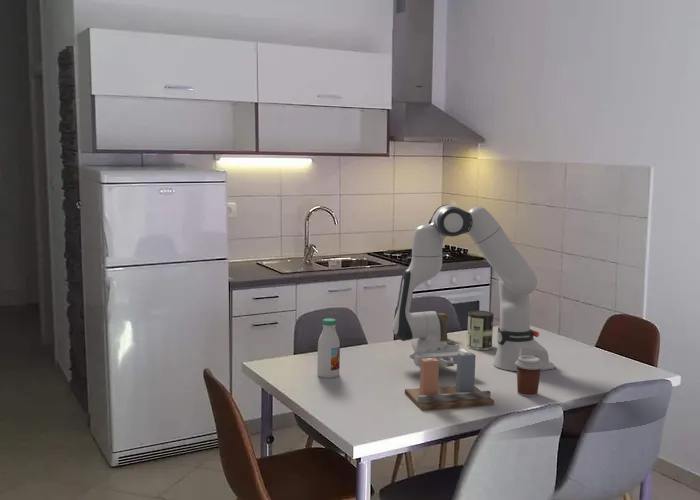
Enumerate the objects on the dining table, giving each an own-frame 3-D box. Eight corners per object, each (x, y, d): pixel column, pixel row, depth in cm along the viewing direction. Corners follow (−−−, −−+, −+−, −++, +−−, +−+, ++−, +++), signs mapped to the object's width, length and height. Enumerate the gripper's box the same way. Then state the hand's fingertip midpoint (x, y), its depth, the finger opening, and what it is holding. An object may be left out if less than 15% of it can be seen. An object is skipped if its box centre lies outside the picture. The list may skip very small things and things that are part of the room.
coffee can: (489, 343, 304) (491, 310, 302) (494, 350, 294) (495, 316, 292) (464, 343, 304) (466, 309, 302) (468, 349, 294) (470, 315, 292)
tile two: (470, 388, 242) (471, 352, 240) (473, 391, 239) (475, 354, 237) (456, 389, 240) (457, 352, 239) (459, 392, 237) (461, 355, 236)
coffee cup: (529, 400, 236) (531, 364, 234) (507, 392, 243) (509, 357, 242) (547, 395, 241) (549, 359, 240) (525, 387, 249) (527, 353, 247)
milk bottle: (323, 379, 252) (324, 322, 250) (313, 373, 259) (314, 318, 256) (343, 376, 256) (344, 320, 253) (333, 370, 263) (334, 316, 260)
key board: (472, 388, 246) (473, 378, 245) (493, 405, 230) (494, 394, 230) (404, 393, 240) (405, 383, 239) (421, 410, 224) (422, 399, 224)
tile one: (434, 394, 235) (435, 357, 233) (437, 397, 232) (439, 360, 230) (419, 395, 233) (420, 358, 232) (422, 398, 230) (424, 360, 229)
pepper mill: (446, 341, 307) (448, 315, 306) (432, 340, 308) (433, 314, 307) (448, 337, 313) (449, 312, 311) (433, 336, 314) (434, 311, 313)
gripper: (408, 346, 261) (421, 357, 248) (461, 343, 267) (477, 353, 253) (407, 363, 262) (421, 375, 249) (460, 360, 268) (476, 371, 254)
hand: (450, 364), depth 251 cm, fingers closed
